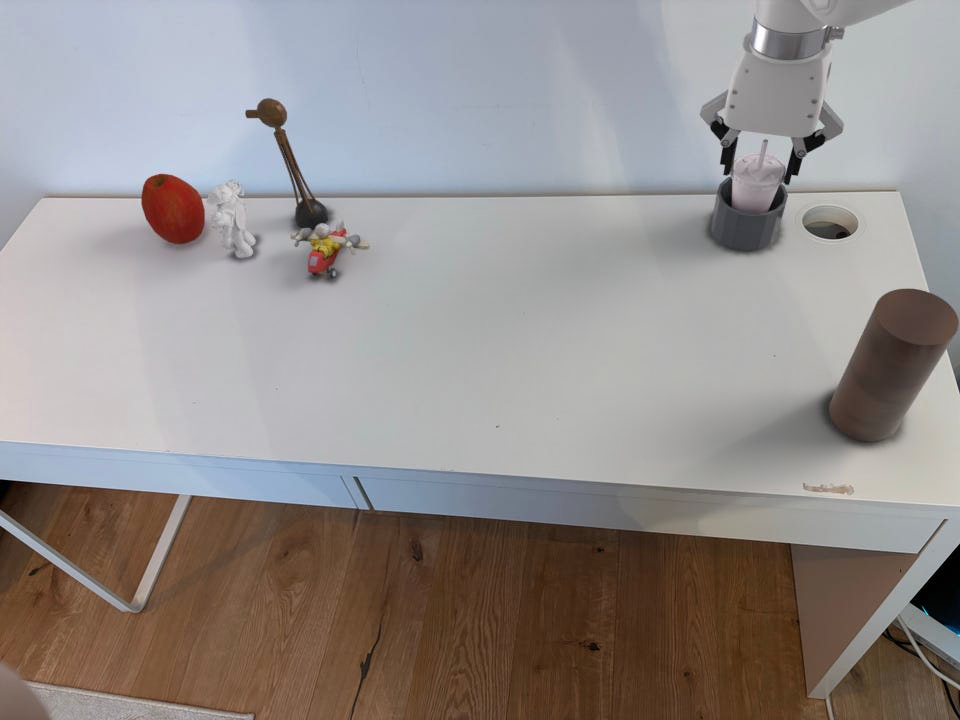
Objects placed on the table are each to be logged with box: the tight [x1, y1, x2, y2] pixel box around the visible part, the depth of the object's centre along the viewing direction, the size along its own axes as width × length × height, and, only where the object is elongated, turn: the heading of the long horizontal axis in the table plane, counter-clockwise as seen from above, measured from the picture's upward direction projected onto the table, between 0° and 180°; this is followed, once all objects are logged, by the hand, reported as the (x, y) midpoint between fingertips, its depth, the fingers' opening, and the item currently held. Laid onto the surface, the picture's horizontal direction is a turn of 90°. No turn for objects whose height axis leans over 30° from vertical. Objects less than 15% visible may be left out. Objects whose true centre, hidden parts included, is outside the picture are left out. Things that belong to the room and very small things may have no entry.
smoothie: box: [729, 138, 787, 214], centre depth 91 cm, size 6×6×14 cm
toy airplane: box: [289, 218, 371, 279], centre depth 100 cm, size 9×9×6 cm
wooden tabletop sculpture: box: [244, 97, 329, 231], centre depth 100 cm, size 6×5×20 cm
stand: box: [828, 287, 960, 443], centre depth 71 cm, size 7×7×16 cm
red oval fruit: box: [140, 173, 206, 245], centre depth 105 cm, size 8×8×11 cm
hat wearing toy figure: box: [206, 178, 257, 259], centre depth 101 cm, size 9×4×12 cm, turn 178°
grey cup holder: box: [710, 175, 789, 252], centre depth 94 cm, size 8×8×6 cm
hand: (757, 172), depth 89 cm, fingers closed on smoothie, 6 cm apart
